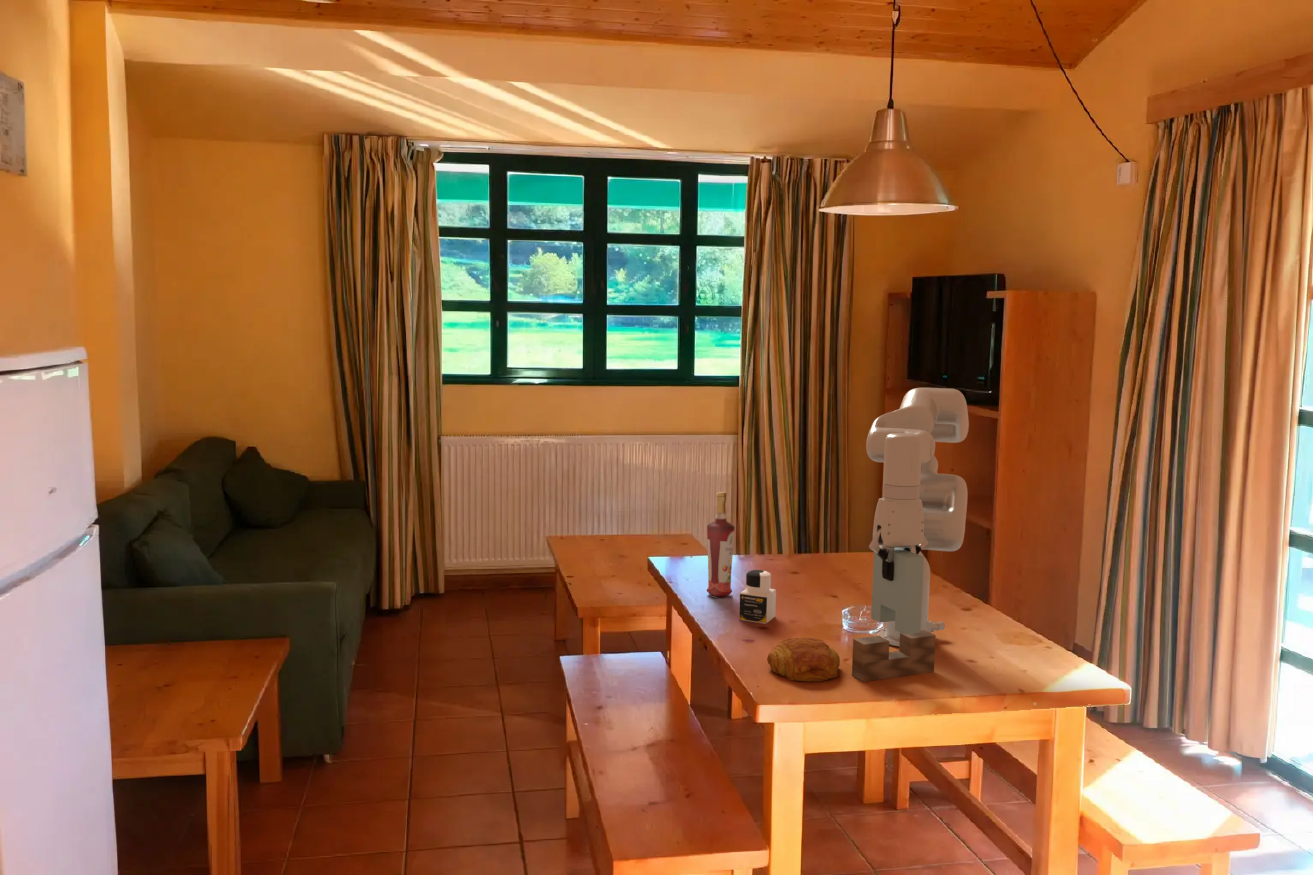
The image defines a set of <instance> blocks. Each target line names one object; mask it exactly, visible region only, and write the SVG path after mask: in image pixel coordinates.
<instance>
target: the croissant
mask: <svg viewBox="0 0 1313 875" xmlns="http://www.w3.org/2000/svg"><path fill="white" fill-rule="evenodd" d="M766 659H767V660H766V661H767V664H768V665H769V666H770V670H771V671H772V672H773V673H776V674H777V675H781V677H784V678H785V677H786V679H787V680H789V681H792V682H793V681H796V682H797V681H798V682H804V683H806V682H824V681H826V680H830V679H835V678H836V677H838V670H839V668H840V663H841V661H840V659H841V658H840V655H839V653H838V651H836V650H835V649H834V648H832V646H830V645H829V644H827V643H826V642H825V641H824V640H822V639H819V638H816V637H794V638H787V639H783V640H781V641H780V642H779V643H778V644H776V645H775V646H774V647H773V649H772V650H771V651H770V652H769V653H768V655H767V658H766Z"/></svg>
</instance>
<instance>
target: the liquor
mask: <svg viewBox="0 0 1313 875" xmlns="http://www.w3.org/2000/svg"><path fill="white" fill-rule="evenodd" d="M715 494H716V495H715V496H716V497H715V498H716V511H715V512H716V513H715V520H714V521H712V522H710V523H709V524H708V525H707V526H706V532H707V533H706V539H707V540H706V543H707V547H706V548H707V560H708V561H707V563H708V564H707V569H708V570H707V573H708V575H707V576H708V577H707V578H708V585H707V589H706V592H707V593H708V594H709V595H710V596H711V597H713V598H716V599H717V598H718V599H719V598H720V599H723V598H728V597H729V595H731V594H732V592H733V590H732V588H731V586H732V567H733V554H734V545H735V544H734V543H735V526H734V525H733V524H732V523H731V522H729V521H727V508H726V507H727V506H726V502H727V494H728V493H727V492H726V491H717V492H716V493H715Z"/></svg>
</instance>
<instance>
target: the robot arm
mask: <svg viewBox="0 0 1313 875" xmlns="http://www.w3.org/2000/svg"><path fill="white" fill-rule="evenodd" d="M967 404H968V403H967V400H966V398H965V396H964V394H963V393H962V392H961V391H960V390H958V389H955V388H947V387H946V388H945V387H943V388H942V387H941V388H940V387H916V388H912V389H910V390H908V391H907V392H906V393H905V395H904V396H903V399H902V401H901V403H900V407H899V409H896V410H893V411H889V412H887V413H884V414H882V415H880V416H878V417H876V418H875V419H874V420H873V422H872V424H871V426H870V429H869V430H868V434H867V438H866V442H865V444H866V445H865V449H866V454H867V456H868V458H869V459H870V460H872V461H873V462H875V463H883V474H882V475H883V477H882V496H881V497H880V498H878V501H877V504H876V507H875V512H874V520H873V527H872V540H871V542H870V543H869V545H868V548H869V550H871V551H873V553H874V552H876V553H877V554H878V556H879V557H880V559H881V560H882V577H883V578H884V579H886V580H889V581H893V576H894V562H892V558H893V553H894V548H896V547H898V548H901V549H904V550H907V551H910V552H912V553H915V554H918V555H921V556H923V557H924V565H923V586H922V608H921V629H920V630H926V631H928V632H930V633H934V631H943V630H945V629H946V628H945V627H946V625H945V623H944V621H938V622H937V621H936V622H934V621H933V620H929V607H930V606H929V604H930V602H929V601H930V587H931V586H930V584H931V582H930V581H931V568H930V564H929V562H928V559H927V558H926V557H925V555H924V554H923V553H922V550H923V551H924V550H925V551H926V550H927V551H940V552H955V551H958V550H959V549H960V548H961V547H962V545H963V543H964V538H965V532H966V521H967V520H966V519H967V507H968V495H969V494H968V486H967V482H966V481H965V479H964V478H963V477H962V476H960V475H957V474H953V473H952V474H950V473H949V474H948V473H938V469H939V462H938V459H937V458H936V456H935V452H936V443H950V444H953V443H955V444H957V443H961V442H963V441H964V440H966V438H967V436H968V433H969V428H970V427H969V426H970V423H969V422H970V421H969V413H968V405H967ZM879 545H882V548H880V547H879ZM887 550H888V551H887ZM878 636H880V637H882V638H884V639H886V640H888V641H889V646H894V647H898V648H899V642H900V632H898V631H896V630H895V621H890V622H885V628H883V629H881V630H879V632H878Z"/></svg>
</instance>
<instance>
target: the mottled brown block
mask: <svg viewBox="0 0 1313 875" xmlns="http://www.w3.org/2000/svg"><path fill="white" fill-rule="evenodd" d="M936 637H937V636H936V634H933V632H931V633H930V632H928V631H926V630H920V633H912V634H902V633H900V642H899V647H898V650H896V651H890V644H889V641H888V640H886V639H884V638H882V637H880V636H879V635H873V636H872V635H871V636H864V637H858V638H857V637H856V638H853V640H852V661H851V676H852V677H854V678H856V679H857V680H859V681H860V682H863V683H864V682H869V681H877V680H885V679H891V678H897V677H898V678H899V677H906V676H912V675H913V676H914V675H918V674H925V673H931V672H933V673H934V671H935V661H936V660H935V659H936V658H935V656H936V639H937V638H936Z"/></svg>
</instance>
